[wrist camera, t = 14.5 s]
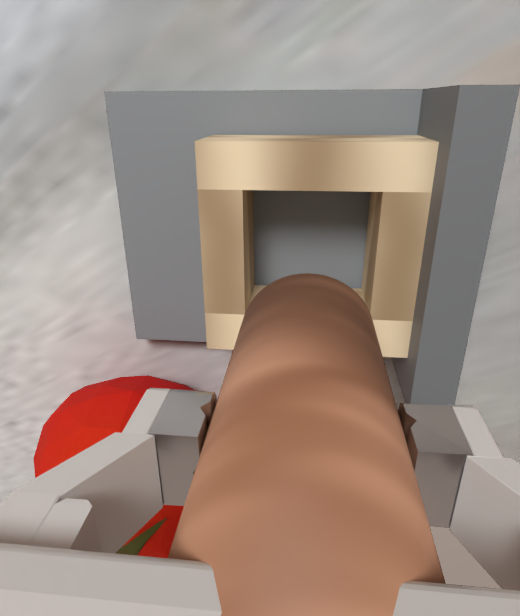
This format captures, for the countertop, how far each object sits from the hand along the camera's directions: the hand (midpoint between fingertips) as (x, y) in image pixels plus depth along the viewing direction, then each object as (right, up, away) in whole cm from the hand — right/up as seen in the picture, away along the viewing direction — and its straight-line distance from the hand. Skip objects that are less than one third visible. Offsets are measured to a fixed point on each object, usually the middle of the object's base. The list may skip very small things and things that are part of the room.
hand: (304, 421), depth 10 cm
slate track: (0, +7, +16) cm, 18 cm away
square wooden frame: (+2, +6, +14) cm, 16 cm away
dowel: (0, +2, +4) cm, 4 cm away
